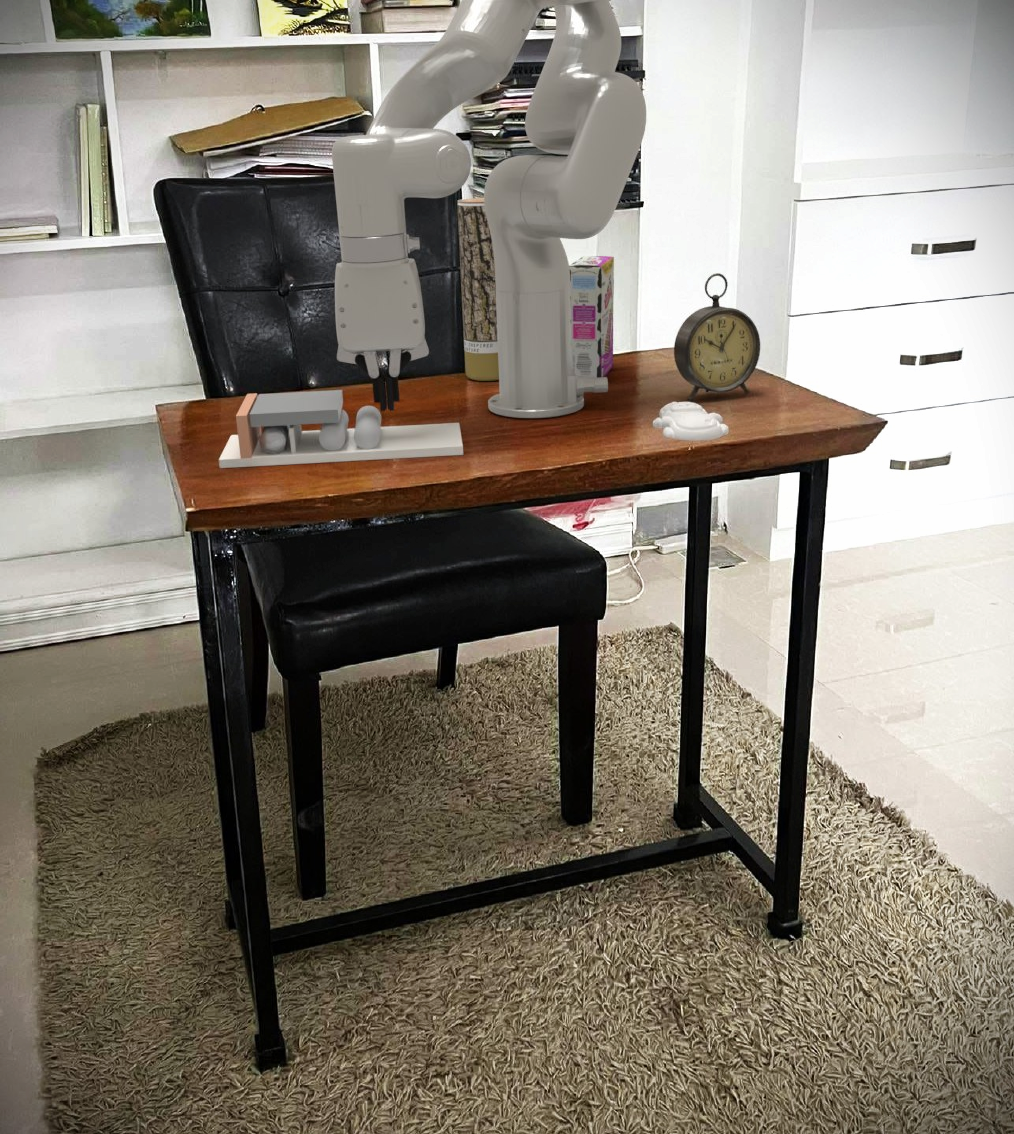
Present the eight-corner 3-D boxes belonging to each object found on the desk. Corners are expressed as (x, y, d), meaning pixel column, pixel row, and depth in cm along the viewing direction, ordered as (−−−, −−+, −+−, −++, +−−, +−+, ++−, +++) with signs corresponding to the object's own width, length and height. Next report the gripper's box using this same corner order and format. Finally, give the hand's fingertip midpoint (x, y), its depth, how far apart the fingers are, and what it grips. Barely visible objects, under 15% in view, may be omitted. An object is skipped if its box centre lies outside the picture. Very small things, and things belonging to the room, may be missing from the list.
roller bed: (459, 430, 156) (457, 383, 154) (463, 454, 146) (460, 404, 143) (232, 442, 154) (226, 395, 152) (219, 468, 144) (213, 417, 142)
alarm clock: (686, 405, 163) (689, 279, 158) (668, 397, 168) (669, 274, 162) (760, 396, 167) (765, 272, 161) (740, 388, 172) (743, 267, 166)
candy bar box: (602, 384, 177) (601, 265, 171) (568, 383, 178) (565, 265, 172) (615, 367, 187) (615, 254, 181) (582, 366, 188) (580, 255, 182)
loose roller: (291, 435, 153) (292, 411, 152) (285, 455, 145) (286, 430, 144) (266, 433, 153) (267, 409, 152) (258, 453, 145) (259, 428, 144)
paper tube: (506, 382, 180) (500, 201, 171) (460, 382, 181) (452, 202, 172) (516, 372, 186) (510, 197, 177) (471, 372, 187) (463, 198, 178)
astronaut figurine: (717, 416, 159) (718, 393, 158) (733, 442, 148) (733, 417, 147) (648, 419, 159) (648, 396, 158) (658, 445, 148) (658, 420, 147)
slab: (343, 402, 153) (342, 389, 152) (338, 422, 144) (337, 409, 143) (260, 406, 152) (259, 394, 152) (250, 427, 143) (249, 414, 142)
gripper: (439, 242, 146) (449, 396, 153) (310, 249, 145) (326, 404, 152) (440, 250, 139) (451, 412, 146) (305, 258, 138) (322, 420, 145)
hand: (387, 407), depth 149 cm, fingers closed
